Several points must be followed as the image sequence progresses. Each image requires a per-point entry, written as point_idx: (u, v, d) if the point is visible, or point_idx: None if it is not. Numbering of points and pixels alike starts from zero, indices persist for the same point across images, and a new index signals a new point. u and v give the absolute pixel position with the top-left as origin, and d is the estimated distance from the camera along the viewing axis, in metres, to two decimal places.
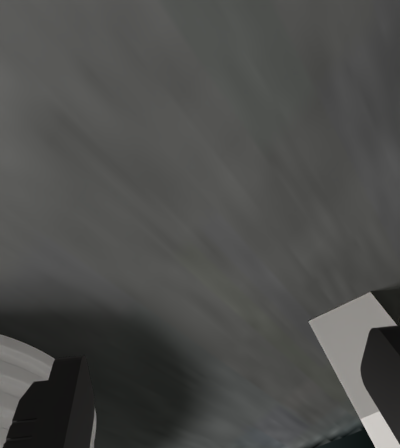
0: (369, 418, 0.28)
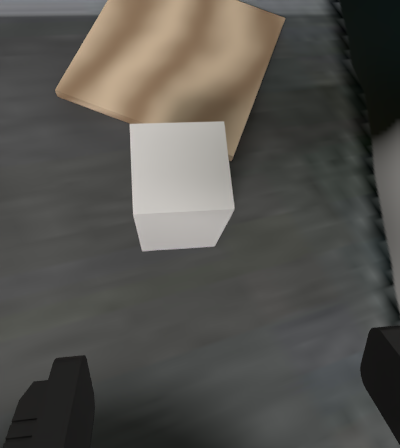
0: (139, 204, 0.24)
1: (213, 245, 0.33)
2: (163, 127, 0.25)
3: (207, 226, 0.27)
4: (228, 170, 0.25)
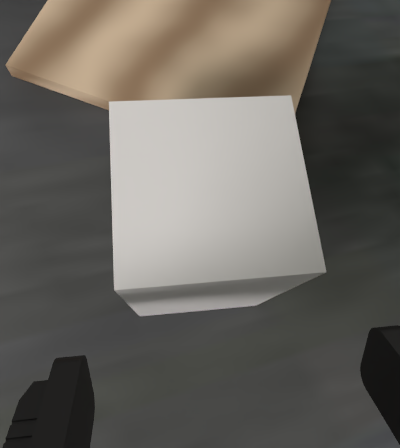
0: (128, 268, 0.11)
1: (254, 305, 0.21)
2: (175, 107, 0.13)
3: (257, 291, 0.15)
4: (306, 190, 0.12)
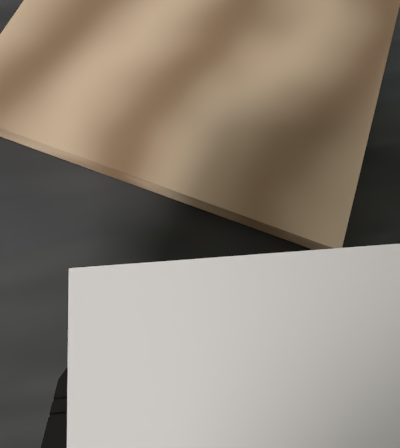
0: None
1: None
2: (213, 279, 0.06)
3: None
4: None
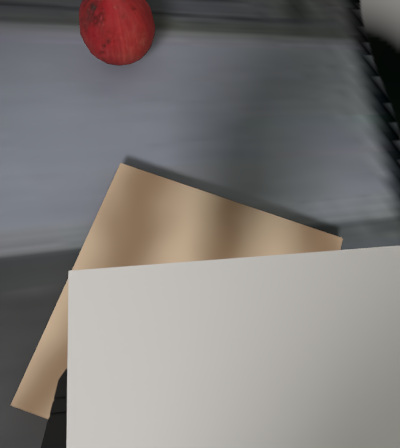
0: None
1: None
2: (213, 281, 0.06)
3: None
4: None
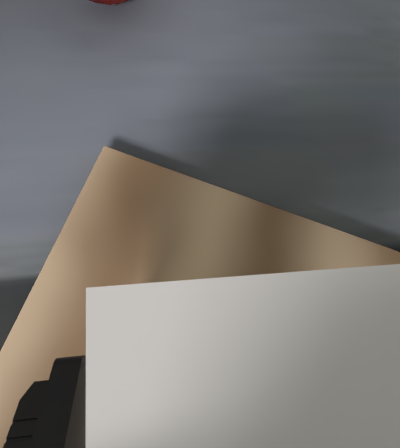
0: None
1: None
2: (203, 296, 0.07)
3: None
4: None
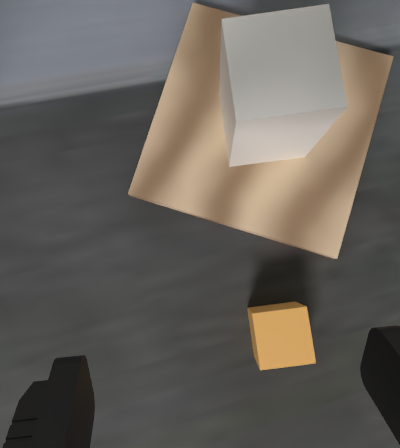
0: (241, 110, 0.22)
1: (304, 155, 0.31)
2: (259, 19, 0.22)
3: (308, 131, 0.25)
4: (337, 62, 0.22)
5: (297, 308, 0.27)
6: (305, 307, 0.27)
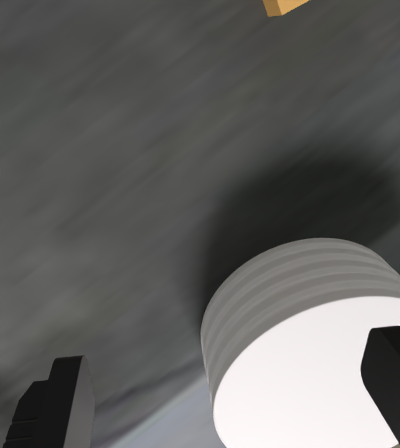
0: None
1: None
2: None
3: None
4: None
5: None
6: None
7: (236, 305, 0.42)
